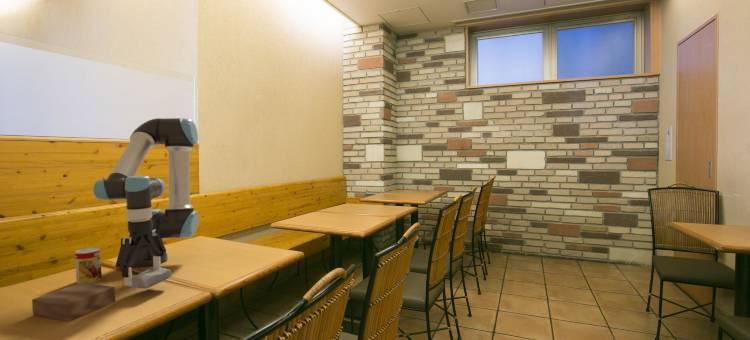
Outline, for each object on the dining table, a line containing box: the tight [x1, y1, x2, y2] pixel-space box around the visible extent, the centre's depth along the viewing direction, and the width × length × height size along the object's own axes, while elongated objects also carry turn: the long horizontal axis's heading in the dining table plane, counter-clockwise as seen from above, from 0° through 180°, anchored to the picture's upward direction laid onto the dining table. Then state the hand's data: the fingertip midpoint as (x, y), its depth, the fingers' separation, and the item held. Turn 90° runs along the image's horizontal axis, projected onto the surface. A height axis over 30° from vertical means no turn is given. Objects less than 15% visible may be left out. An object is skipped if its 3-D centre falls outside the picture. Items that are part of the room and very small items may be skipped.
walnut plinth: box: [31, 283, 116, 322], centre depth 123 cm, size 15×15×5 cm
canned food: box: [74, 247, 103, 284], centre depth 148 cm, size 8×8×12 cm
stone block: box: [128, 267, 172, 290], centre depth 136 cm, size 12×5×10 cm
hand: (143, 279), depth 137 cm, fingers closed on stone block, 11 cm apart
